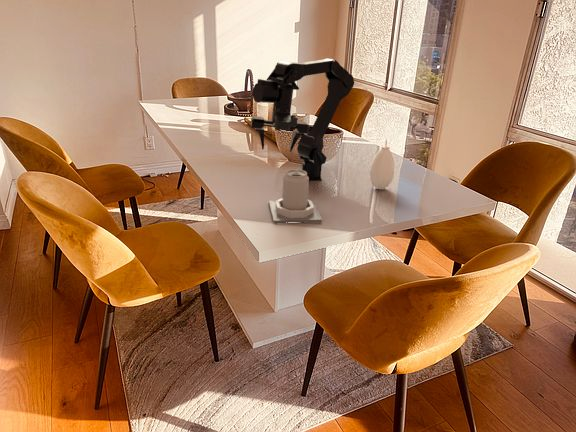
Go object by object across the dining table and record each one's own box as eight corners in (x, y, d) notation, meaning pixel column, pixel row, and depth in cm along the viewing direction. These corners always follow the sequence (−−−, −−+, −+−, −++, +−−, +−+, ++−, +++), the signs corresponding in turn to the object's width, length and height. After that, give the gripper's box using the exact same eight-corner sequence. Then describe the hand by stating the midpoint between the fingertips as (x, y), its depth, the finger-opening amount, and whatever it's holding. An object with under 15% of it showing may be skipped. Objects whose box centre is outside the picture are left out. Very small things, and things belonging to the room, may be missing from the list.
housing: (312, 203, 142) (313, 194, 141) (321, 222, 130) (322, 213, 129) (268, 203, 140) (269, 195, 139) (273, 223, 128) (274, 214, 127)
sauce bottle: (381, 183, 161) (388, 134, 153) (395, 191, 155) (403, 140, 147) (363, 186, 157) (370, 136, 150) (377, 194, 151) (385, 143, 143)
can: (281, 214, 132) (283, 176, 126) (282, 204, 138) (283, 167, 133) (307, 215, 132) (309, 177, 126) (306, 205, 138) (309, 168, 133)
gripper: (255, 103, 134) (249, 154, 139) (315, 110, 137) (308, 159, 143) (252, 98, 144) (248, 145, 150) (309, 105, 147) (302, 151, 153)
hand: (276, 150), depth 148 cm, fingers open, 9 cm apart
